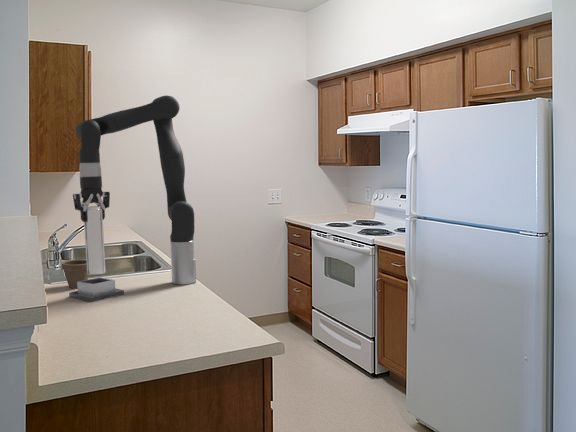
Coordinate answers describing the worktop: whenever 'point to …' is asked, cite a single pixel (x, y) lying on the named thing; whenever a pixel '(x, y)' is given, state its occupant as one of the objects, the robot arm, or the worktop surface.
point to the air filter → (94, 241)
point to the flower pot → (75, 271)
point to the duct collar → (96, 289)
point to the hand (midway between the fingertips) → (93, 220)
